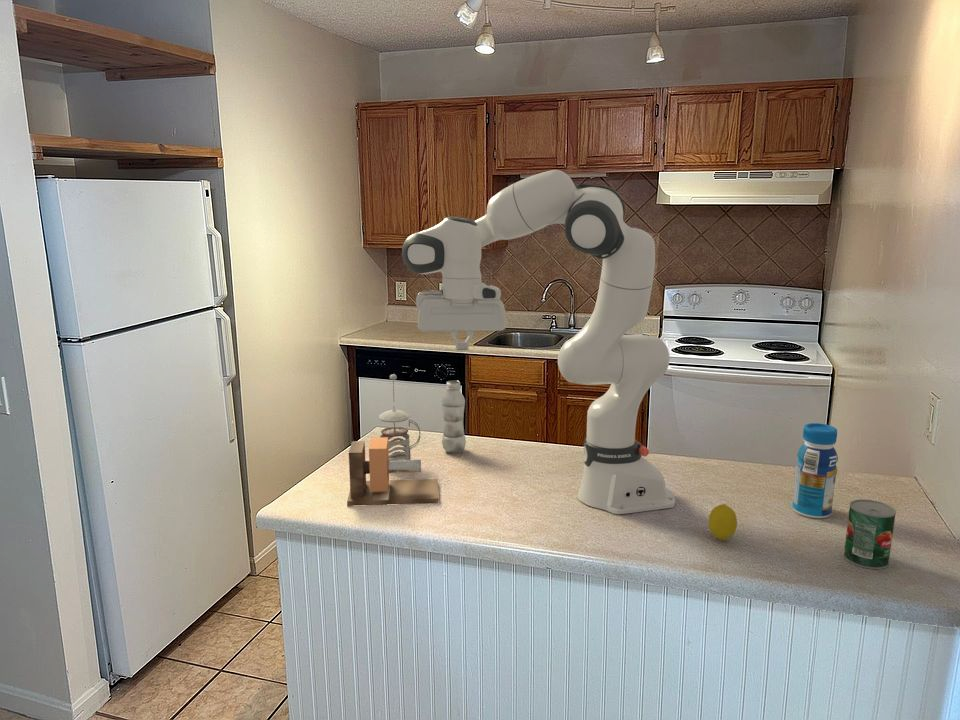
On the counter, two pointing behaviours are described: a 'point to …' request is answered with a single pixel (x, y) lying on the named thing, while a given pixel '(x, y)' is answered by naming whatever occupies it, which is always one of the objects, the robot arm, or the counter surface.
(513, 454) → the counter surface
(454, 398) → the plastic bottle
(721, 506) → the lemon
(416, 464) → the steel pipe
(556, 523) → the counter surface
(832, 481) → the beverage bottle
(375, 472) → the collar
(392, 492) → the pipe stand
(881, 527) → the canned tomato
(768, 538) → the counter surface
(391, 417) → the french press
